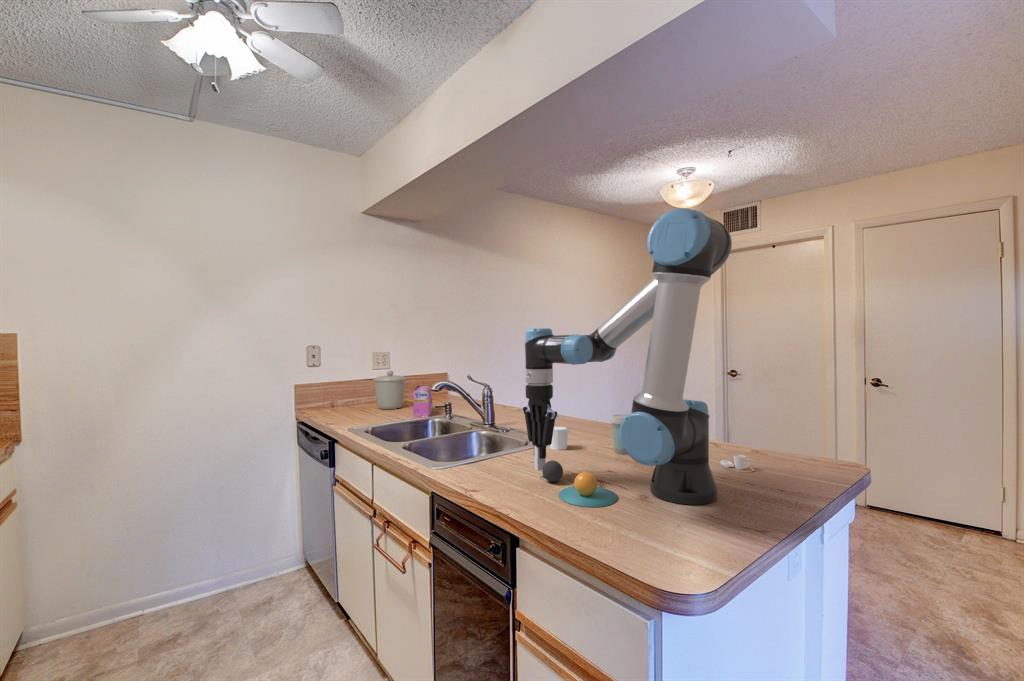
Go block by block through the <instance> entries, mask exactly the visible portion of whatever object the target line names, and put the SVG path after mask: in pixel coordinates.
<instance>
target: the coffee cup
mask: <svg viewBox="0 0 1024 681" xmlns="http://www.w3.org/2000/svg"><path fill="white" fill-rule="evenodd" d="M628 415H629V414H624V413H623V414H619V413H618V414H613V415H612V416H611V419H610V423H611V429H612V438H613V445H614V452H615V454H618V453H619V454H618V455H625V454H627V452H626V450H625V449H624V448H623V446H622V444H621V440H620V434H619V431H620V426H621V423H622V421H623V420H624V419H625V418H626V417H627V416H628ZM627 455H628V454H627Z"/></svg>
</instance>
